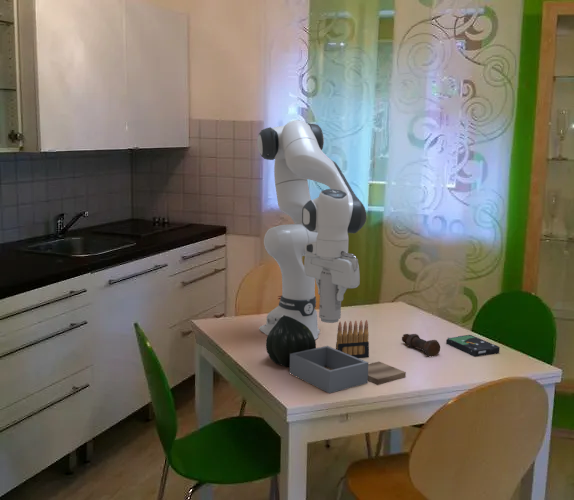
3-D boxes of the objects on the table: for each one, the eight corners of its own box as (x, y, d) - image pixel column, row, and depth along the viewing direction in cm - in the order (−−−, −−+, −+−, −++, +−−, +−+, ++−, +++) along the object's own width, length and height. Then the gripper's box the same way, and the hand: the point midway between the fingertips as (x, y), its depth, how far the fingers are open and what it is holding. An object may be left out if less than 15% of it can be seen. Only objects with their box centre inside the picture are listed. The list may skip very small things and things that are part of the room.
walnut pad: (351, 373, 198) (351, 368, 198) (378, 366, 204) (379, 361, 204) (377, 384, 189) (377, 379, 189) (405, 377, 196) (405, 372, 195)
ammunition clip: (337, 360, 209) (338, 322, 207) (334, 358, 211) (336, 320, 209) (368, 357, 212) (370, 320, 210) (366, 355, 214) (368, 318, 212)
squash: (322, 354, 197) (313, 308, 205) (272, 358, 194) (264, 312, 202) (313, 372, 209) (305, 328, 217) (266, 377, 206) (259, 332, 214)
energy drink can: (322, 316, 194) (324, 265, 192) (342, 318, 192) (344, 267, 190) (316, 321, 189) (318, 269, 186) (337, 324, 187) (339, 271, 184)
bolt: (406, 348, 228) (435, 360, 215) (396, 342, 226) (424, 354, 213) (413, 332, 229) (443, 343, 216) (403, 327, 227) (432, 337, 213)
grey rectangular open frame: (289, 373, 196) (289, 353, 195) (326, 364, 205) (327, 345, 204) (329, 393, 182) (329, 371, 181) (367, 382, 190) (368, 362, 189)
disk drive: (499, 355, 219) (469, 341, 233) (500, 346, 219) (470, 333, 232) (474, 358, 215) (445, 345, 228) (475, 350, 214) (445, 337, 228)
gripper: (366, 253, 181) (364, 304, 183) (318, 242, 197) (316, 289, 199) (348, 256, 177) (346, 307, 179) (301, 244, 193) (299, 291, 196)
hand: (330, 297), depth 189 cm, fingers closed on energy drink can, 6 cm apart
